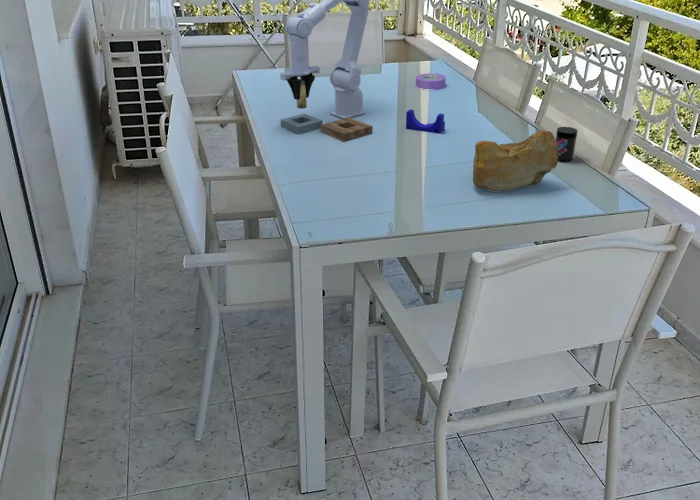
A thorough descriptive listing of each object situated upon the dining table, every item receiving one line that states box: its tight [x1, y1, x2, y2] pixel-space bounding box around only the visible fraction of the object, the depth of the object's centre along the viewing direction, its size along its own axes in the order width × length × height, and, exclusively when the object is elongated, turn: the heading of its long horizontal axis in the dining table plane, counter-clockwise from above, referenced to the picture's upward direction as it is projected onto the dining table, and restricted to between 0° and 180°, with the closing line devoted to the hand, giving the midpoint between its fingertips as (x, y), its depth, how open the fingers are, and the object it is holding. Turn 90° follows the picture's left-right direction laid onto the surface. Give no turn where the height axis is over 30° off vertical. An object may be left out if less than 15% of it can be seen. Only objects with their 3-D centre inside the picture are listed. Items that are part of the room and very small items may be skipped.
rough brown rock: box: [472, 130, 559, 193], centre depth 192 cm, size 23×17×15 cm
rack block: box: [279, 113, 323, 135], centre depth 235 cm, size 10×10×2 cm
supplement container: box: [555, 126, 578, 163], centre depth 207 cm, size 6×6×9 cm
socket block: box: [320, 117, 373, 142], centre depth 230 cm, size 12×12×2 cm
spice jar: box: [296, 78, 307, 110], centre depth 230 cm, size 3×3×9 cm
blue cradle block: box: [405, 109, 446, 135], centre depth 232 cm, size 12×4×6 cm, turn 65°
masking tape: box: [415, 72, 447, 91], centre depth 278 cm, size 12×12×4 cm
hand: (301, 98), depth 231 cm, fingers closed on spice jar, 3 cm apart
